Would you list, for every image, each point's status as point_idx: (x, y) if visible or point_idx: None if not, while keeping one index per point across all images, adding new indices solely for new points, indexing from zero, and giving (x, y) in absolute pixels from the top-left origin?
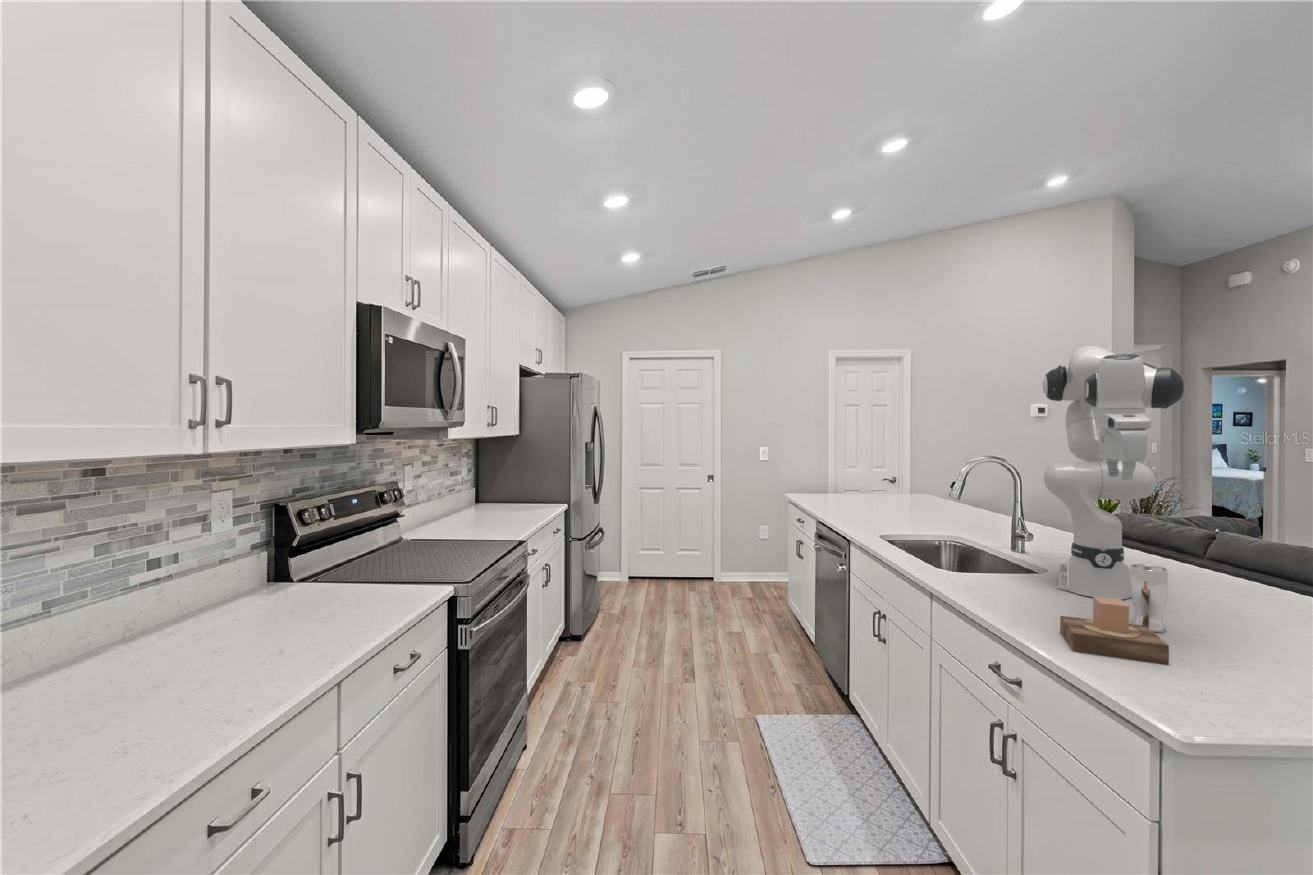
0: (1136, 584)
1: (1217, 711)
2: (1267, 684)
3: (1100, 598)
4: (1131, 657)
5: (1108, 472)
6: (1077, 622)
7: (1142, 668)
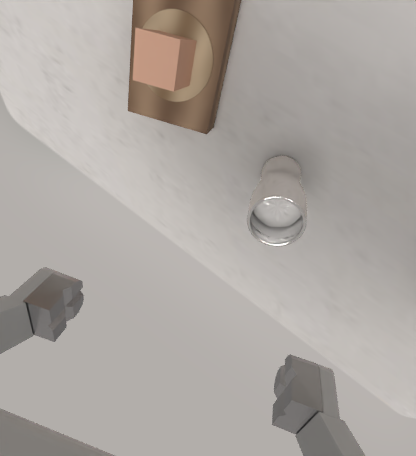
0: (269, 180)
1: (25, 72)
2: (118, 177)
3: (170, 49)
4: None
5: (323, 387)
6: (200, 9)
7: (115, 59)
